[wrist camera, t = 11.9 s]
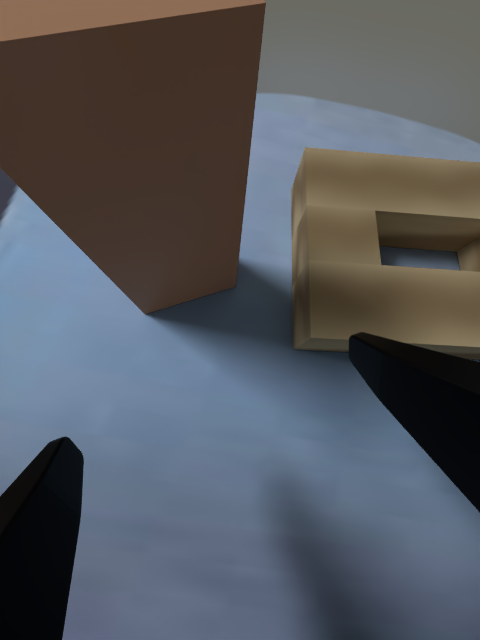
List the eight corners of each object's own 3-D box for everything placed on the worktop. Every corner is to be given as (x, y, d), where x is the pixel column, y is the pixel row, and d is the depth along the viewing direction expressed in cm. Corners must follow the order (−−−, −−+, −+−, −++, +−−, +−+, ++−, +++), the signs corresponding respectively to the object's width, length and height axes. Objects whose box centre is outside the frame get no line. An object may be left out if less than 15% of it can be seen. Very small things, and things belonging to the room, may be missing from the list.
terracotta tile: (235, 286, 17) (265, 2, 5) (144, 314, 16) (-110, 57, 4) (223, 253, 18) (221, -74, 5) (135, 279, 17) (-112, -42, 4)
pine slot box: (538, 362, 17) (615, 354, 14) (293, 349, 16) (311, 337, 13) (496, 206, 20) (550, 168, 17) (291, 189, 20) (305, 147, 16)
